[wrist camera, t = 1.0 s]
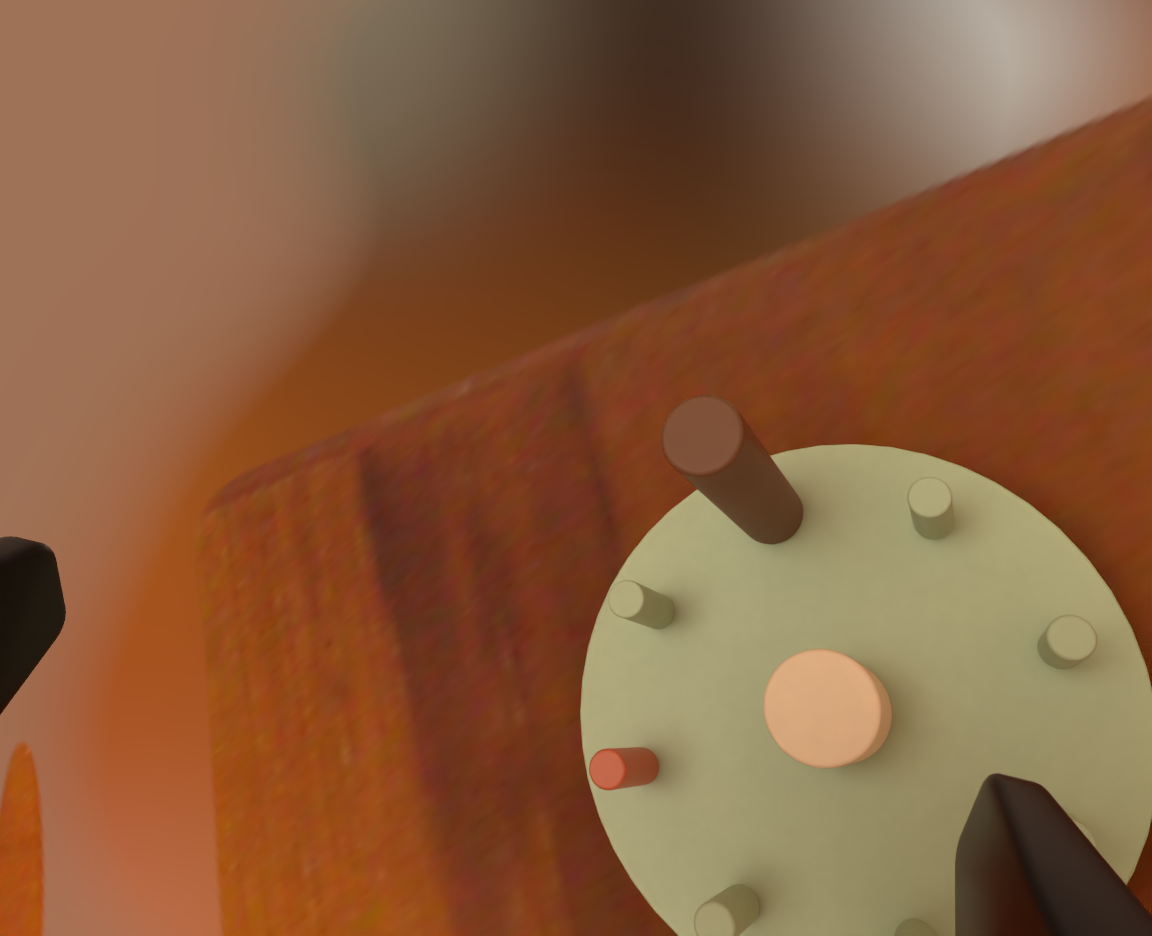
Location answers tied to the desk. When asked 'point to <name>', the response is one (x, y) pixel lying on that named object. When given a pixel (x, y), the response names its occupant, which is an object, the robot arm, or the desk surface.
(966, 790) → the pegged crank wheel
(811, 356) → the desk surface
